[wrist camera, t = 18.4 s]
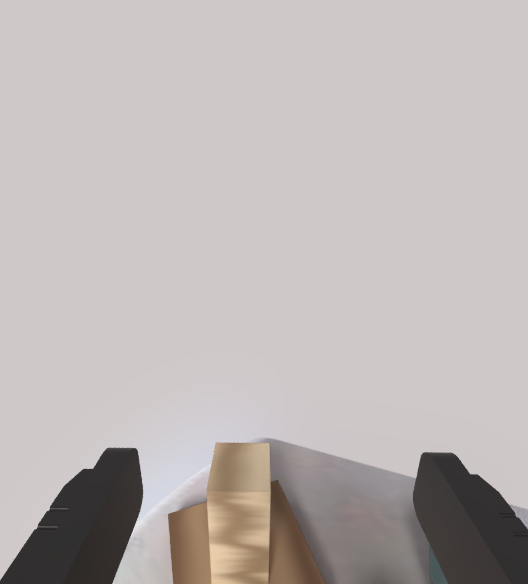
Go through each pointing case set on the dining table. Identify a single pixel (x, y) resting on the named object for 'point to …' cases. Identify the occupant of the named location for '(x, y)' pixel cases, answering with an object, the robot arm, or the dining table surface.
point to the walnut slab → (282, 545)
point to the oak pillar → (239, 513)
